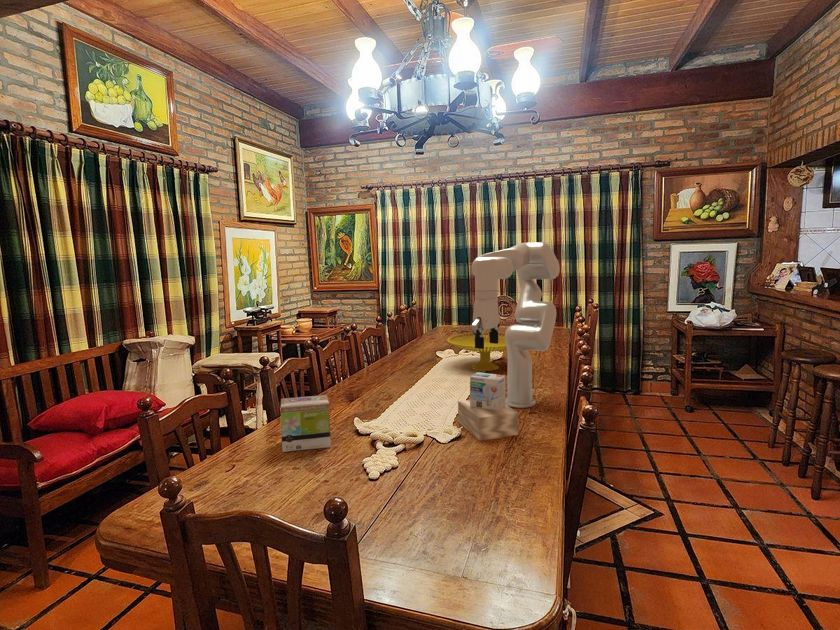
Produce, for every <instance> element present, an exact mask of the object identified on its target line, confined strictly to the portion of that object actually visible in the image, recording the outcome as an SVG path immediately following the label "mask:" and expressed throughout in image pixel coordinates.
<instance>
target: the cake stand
mask: <svg viewBox="0 0 840 630" xmlns="http://www.w3.org/2000/svg"><path fill="white" fill-rule="evenodd" d="M483 337H484V349H478V348H475V337H474V333H473V332H472V333H462V334H456V335H452V336H450V337H449V336H448V337H447V338H446V340H445V341H446V342H447V343H448V344H451V345H453V346H455V347H457V348H459V349H460V350H464V351H471V352H478V353H479V362H478V363H477V362H476V363H475V364H473V365H472V366H471V369H472V368H474V369H473V370H475V369H477V370H476V371H480V370H487V371H486V372H488V371H489V372H490V371H496V370H499V368H500V366H499V365H496V364H495V363H493V362H491V353H492V352H502V351H507V346H506V341H505V333H499V332H498V344H494V343H490V342H489V332H484V334H483Z"/></svg>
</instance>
